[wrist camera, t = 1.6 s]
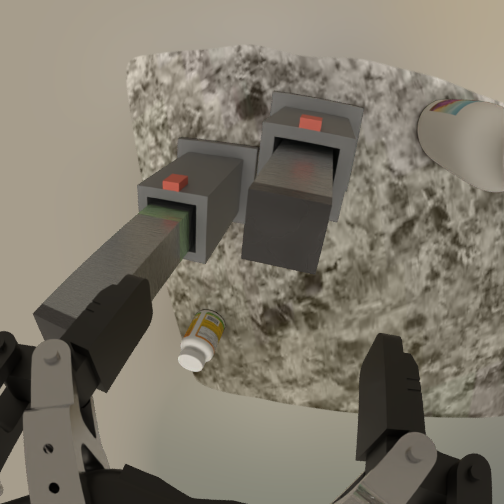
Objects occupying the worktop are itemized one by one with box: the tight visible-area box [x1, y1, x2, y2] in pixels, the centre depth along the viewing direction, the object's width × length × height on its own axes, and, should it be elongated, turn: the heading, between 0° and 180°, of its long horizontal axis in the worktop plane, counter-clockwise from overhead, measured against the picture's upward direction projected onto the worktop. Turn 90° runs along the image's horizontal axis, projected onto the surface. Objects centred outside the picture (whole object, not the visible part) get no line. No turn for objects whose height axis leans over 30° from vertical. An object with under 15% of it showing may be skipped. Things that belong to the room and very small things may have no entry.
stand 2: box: [257, 91, 364, 222], centre depth 30 cm, size 10×10×13 cm
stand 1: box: [137, 137, 259, 264], centre depth 35 cm, size 10×10×13 cm
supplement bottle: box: [178, 310, 225, 372], centre depth 50 cm, size 5×5×10 cm
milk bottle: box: [418, 99, 504, 192], centre depth 21 cm, size 8×8×20 cm
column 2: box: [241, 138, 333, 274], centre depth 25 cm, size 4×4×22 cm
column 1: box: [33, 198, 196, 341], centre depth 25 cm, size 4×4×22 cm
